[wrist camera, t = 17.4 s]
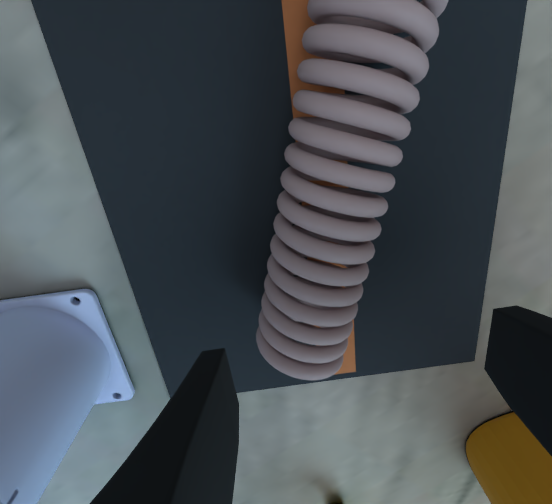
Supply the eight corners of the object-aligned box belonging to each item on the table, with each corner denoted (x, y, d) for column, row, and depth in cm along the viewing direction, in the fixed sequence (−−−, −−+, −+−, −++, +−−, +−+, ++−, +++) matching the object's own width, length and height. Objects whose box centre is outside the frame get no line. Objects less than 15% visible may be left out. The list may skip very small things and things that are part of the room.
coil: (329, -150, 8) (247, 384, 15) (509, -121, 8) (345, 399, 15) (317, -57, 13) (258, 325, 19) (436, -38, 13) (334, 337, 19)
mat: (172, 399, 21) (171, 402, 21) (-19, -151, 11) (-25, -156, 11) (472, 359, 21) (474, 361, 21) (557, -236, 11) (564, -243, 11)
